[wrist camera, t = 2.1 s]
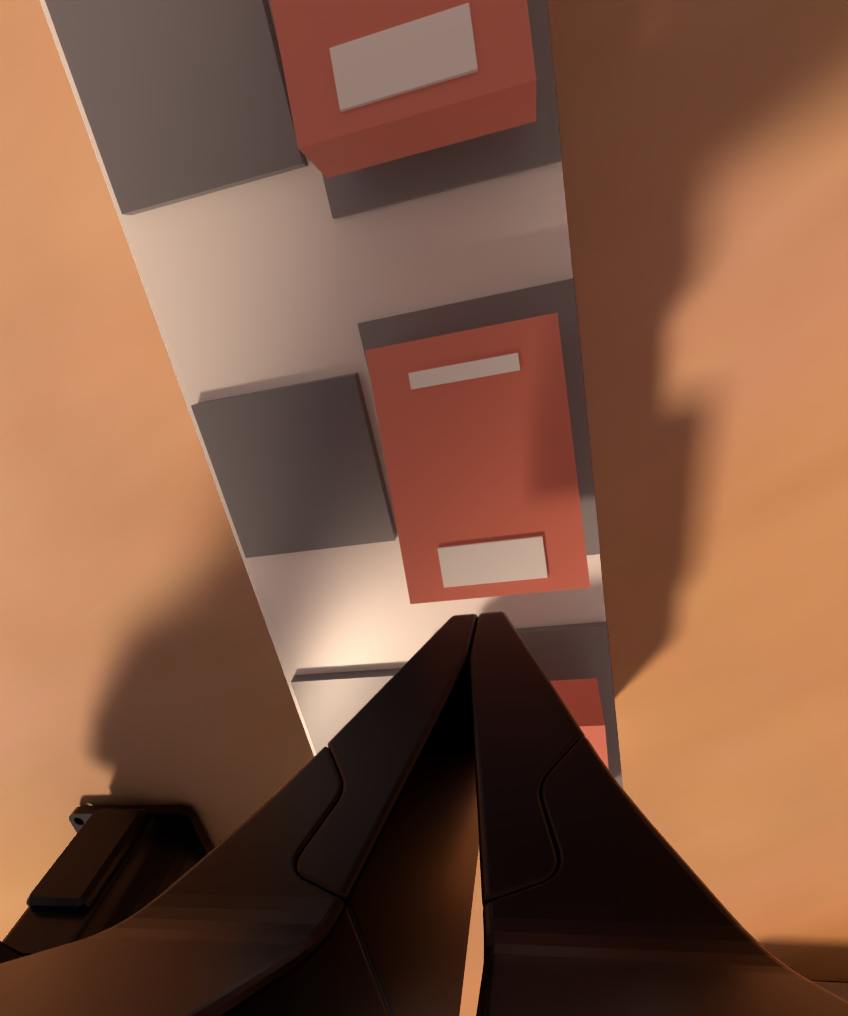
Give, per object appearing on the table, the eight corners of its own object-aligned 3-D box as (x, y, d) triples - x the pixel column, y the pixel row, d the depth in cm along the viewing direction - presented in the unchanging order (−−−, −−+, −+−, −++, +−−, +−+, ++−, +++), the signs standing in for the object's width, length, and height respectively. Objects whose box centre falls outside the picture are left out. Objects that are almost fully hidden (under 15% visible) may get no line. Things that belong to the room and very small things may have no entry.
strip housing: (617, 828, 22) (638, 949, 18) (398, 828, 24) (374, 938, 20) (512, -168, 11) (510, -392, 8) (135, -22, 13) (-22, -139, 9)
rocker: (585, 568, 12) (591, 589, 10) (421, 584, 12) (409, 605, 11) (555, 321, 11) (557, 311, 10) (382, 354, 12) (364, 349, 10)
